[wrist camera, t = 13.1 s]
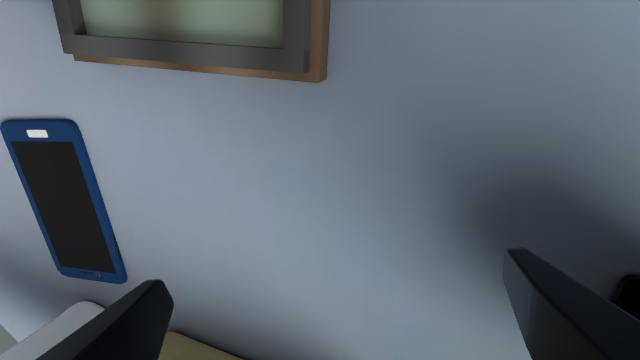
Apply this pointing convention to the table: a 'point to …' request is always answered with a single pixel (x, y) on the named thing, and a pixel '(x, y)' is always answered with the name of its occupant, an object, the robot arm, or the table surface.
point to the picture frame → (201, 35)
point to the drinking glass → (53, 332)
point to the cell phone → (65, 197)
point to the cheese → (190, 349)
